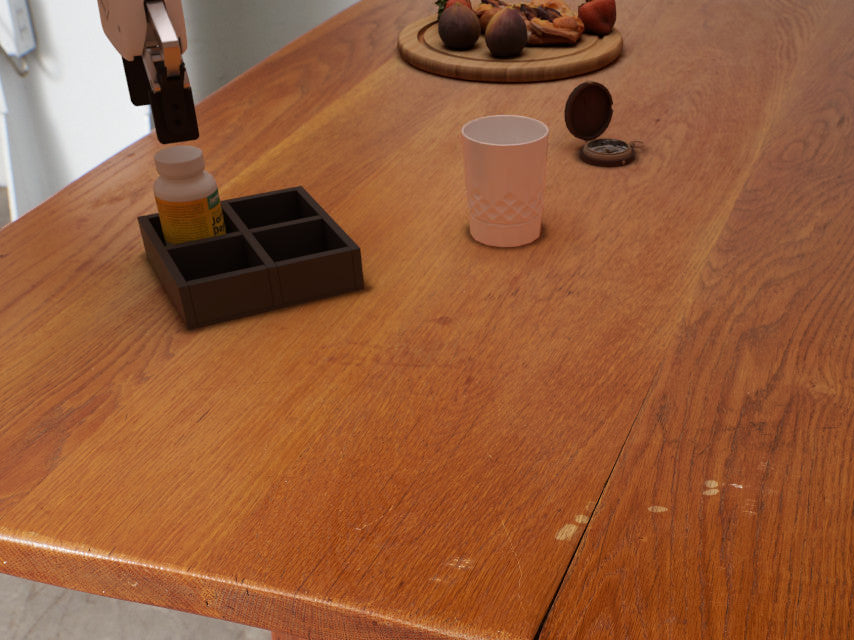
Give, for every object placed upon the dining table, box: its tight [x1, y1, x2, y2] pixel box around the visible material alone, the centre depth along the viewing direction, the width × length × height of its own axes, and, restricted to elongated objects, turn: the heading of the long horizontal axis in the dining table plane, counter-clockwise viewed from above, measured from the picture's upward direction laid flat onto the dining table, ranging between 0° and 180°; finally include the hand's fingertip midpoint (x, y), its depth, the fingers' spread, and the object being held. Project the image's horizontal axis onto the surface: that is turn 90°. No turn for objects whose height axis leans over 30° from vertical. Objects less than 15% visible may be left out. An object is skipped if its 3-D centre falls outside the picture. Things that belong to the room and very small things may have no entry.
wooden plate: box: [396, 0, 624, 83], centre depth 142 cm, size 32×32×8 cm
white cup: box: [460, 114, 550, 248], centre depth 94 cm, size 8×8×10 cm
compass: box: [563, 80, 646, 168], centre depth 111 cm, size 8×8×7 cm
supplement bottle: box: [152, 145, 226, 246], centre depth 88 cm, size 5×5×10 cm
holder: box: [136, 185, 365, 331], centre depth 89 cm, size 15×15×4 cm
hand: (164, 121), depth 83 cm, fingers open, 9 cm apart
